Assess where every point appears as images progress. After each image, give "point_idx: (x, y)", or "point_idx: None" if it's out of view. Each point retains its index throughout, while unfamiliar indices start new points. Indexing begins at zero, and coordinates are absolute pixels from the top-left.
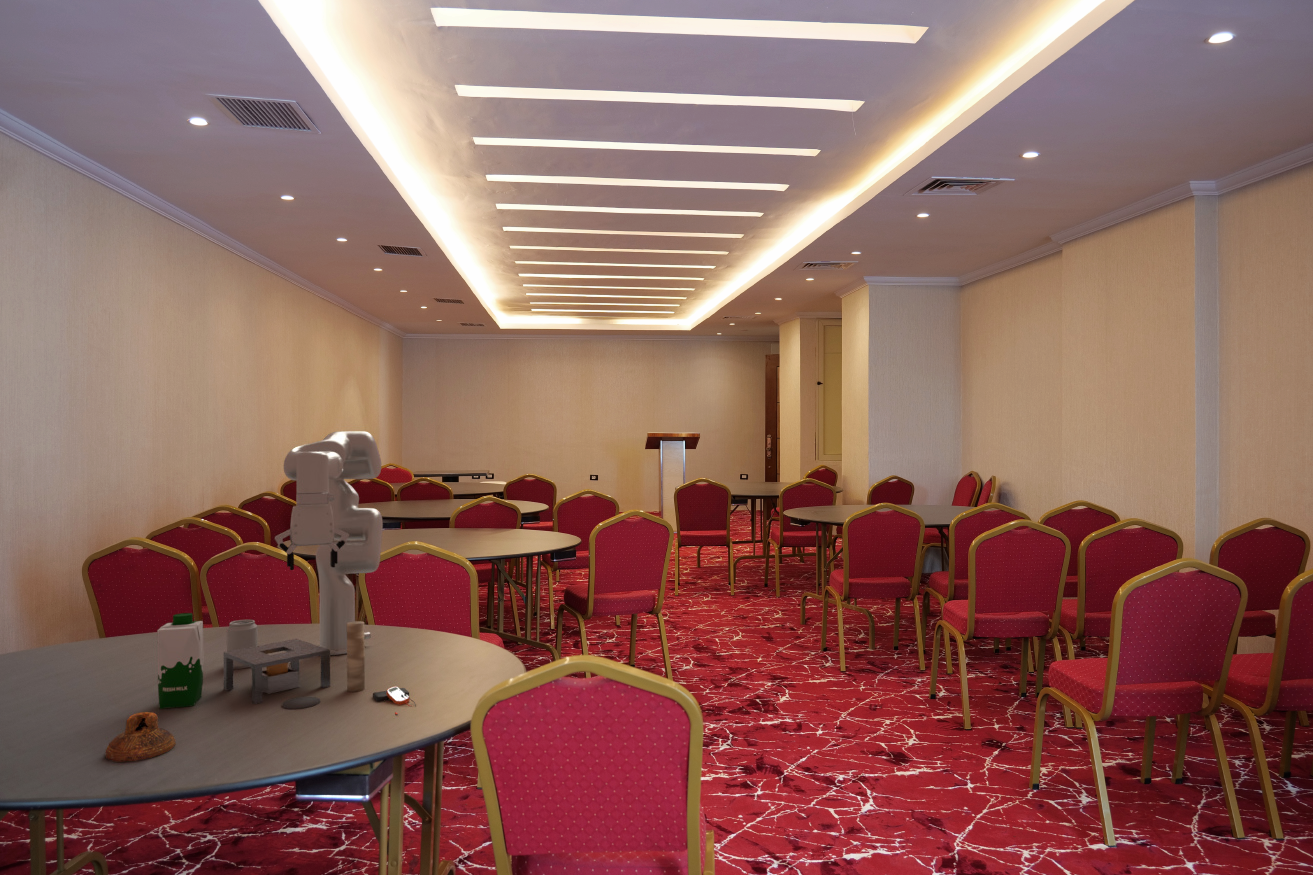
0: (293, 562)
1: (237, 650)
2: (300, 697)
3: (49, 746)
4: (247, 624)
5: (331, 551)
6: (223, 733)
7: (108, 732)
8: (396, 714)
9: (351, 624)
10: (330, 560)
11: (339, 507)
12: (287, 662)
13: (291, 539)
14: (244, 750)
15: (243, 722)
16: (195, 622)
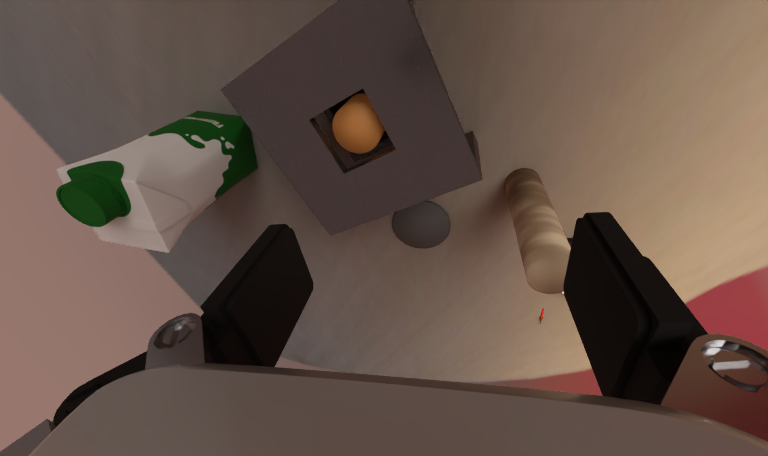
0: (294, 321)
1: (249, 84)
2: (419, 204)
3: (173, 251)
4: None
5: (644, 338)
6: (338, 289)
7: (205, 234)
8: (540, 320)
9: (537, 285)
10: (594, 246)
11: None
12: (383, 128)
13: (51, 434)
14: (370, 335)
15: (352, 265)
16: (129, 196)
